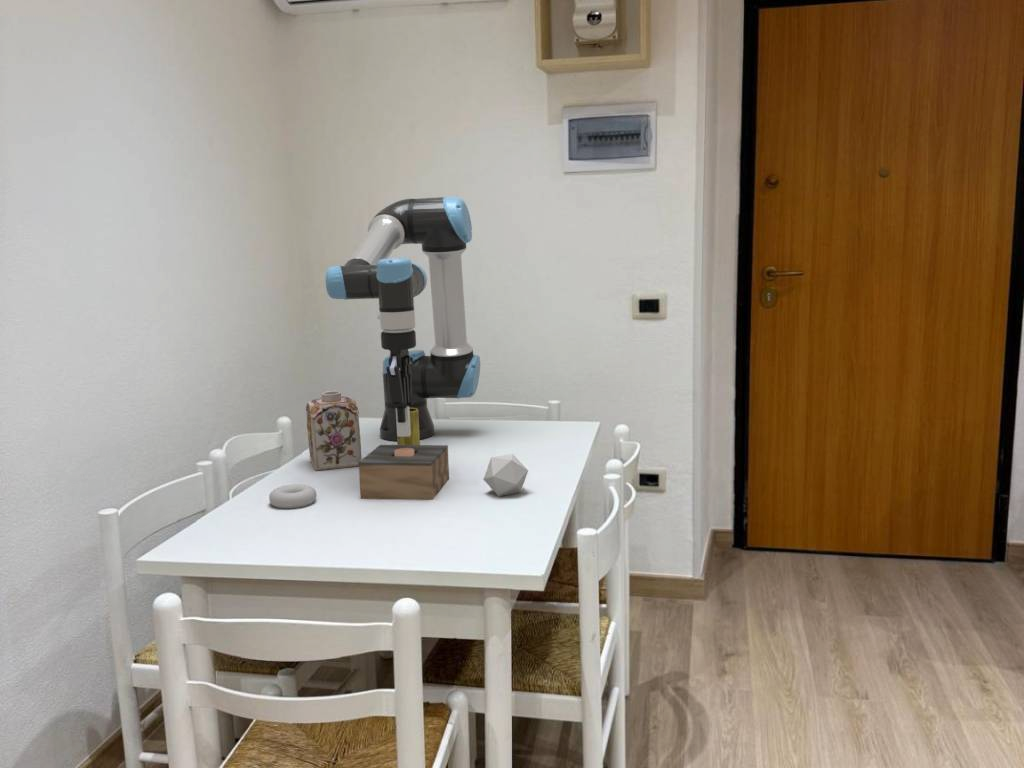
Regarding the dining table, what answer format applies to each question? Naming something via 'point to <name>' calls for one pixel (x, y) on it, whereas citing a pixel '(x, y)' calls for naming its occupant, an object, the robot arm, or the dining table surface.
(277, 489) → the donut
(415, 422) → the vase
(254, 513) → the dining table surface
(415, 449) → the socket block
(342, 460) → the decorative jar
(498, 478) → the die
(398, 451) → the peg
